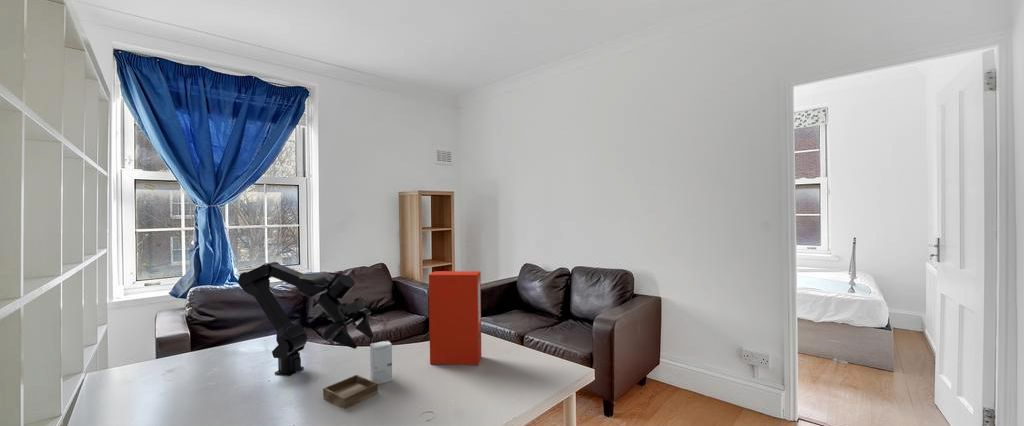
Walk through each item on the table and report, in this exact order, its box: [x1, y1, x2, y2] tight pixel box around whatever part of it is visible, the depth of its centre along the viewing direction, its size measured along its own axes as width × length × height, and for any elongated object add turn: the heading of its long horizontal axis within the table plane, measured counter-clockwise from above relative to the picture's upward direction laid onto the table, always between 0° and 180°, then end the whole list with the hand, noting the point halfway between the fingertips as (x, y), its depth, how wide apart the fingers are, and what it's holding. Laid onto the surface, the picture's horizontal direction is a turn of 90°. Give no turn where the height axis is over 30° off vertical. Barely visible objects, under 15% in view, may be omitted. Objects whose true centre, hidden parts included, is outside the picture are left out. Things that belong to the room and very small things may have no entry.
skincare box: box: [369, 340, 393, 385], centre depth 127 cm, size 6×4×12 cm
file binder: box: [428, 270, 482, 366], centre depth 142 cm, size 8×17×32 cm, turn 86°
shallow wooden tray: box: [322, 374, 379, 410], centre depth 117 cm, size 11×11×3 cm
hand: (364, 342), depth 128 cm, fingers open, 9 cm apart
